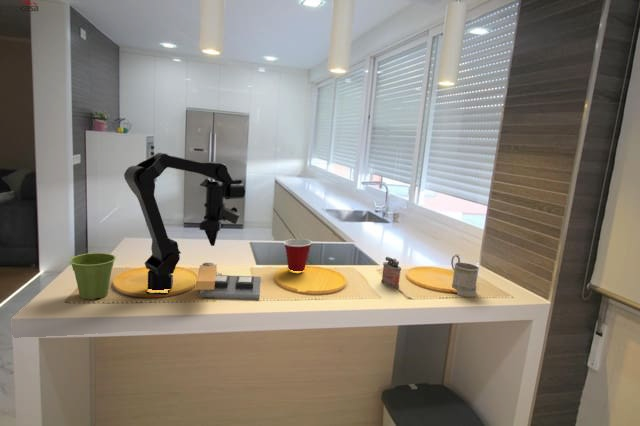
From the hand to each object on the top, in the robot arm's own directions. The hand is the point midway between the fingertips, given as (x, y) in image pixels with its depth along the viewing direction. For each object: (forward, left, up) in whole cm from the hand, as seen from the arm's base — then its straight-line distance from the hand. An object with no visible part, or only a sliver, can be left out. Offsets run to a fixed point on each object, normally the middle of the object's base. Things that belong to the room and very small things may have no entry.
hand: (212, 245), depth 141 cm
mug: (+90, -1, -12) cm, 91 cm away
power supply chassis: (+8, -8, -12) cm, 16 cm away
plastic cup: (+30, +12, -12) cm, 34 cm away
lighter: (+64, +1, -12) cm, 65 cm away
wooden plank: (0, -15, -7) cm, 16 cm away
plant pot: (-31, -18, -12) cm, 38 cm away
